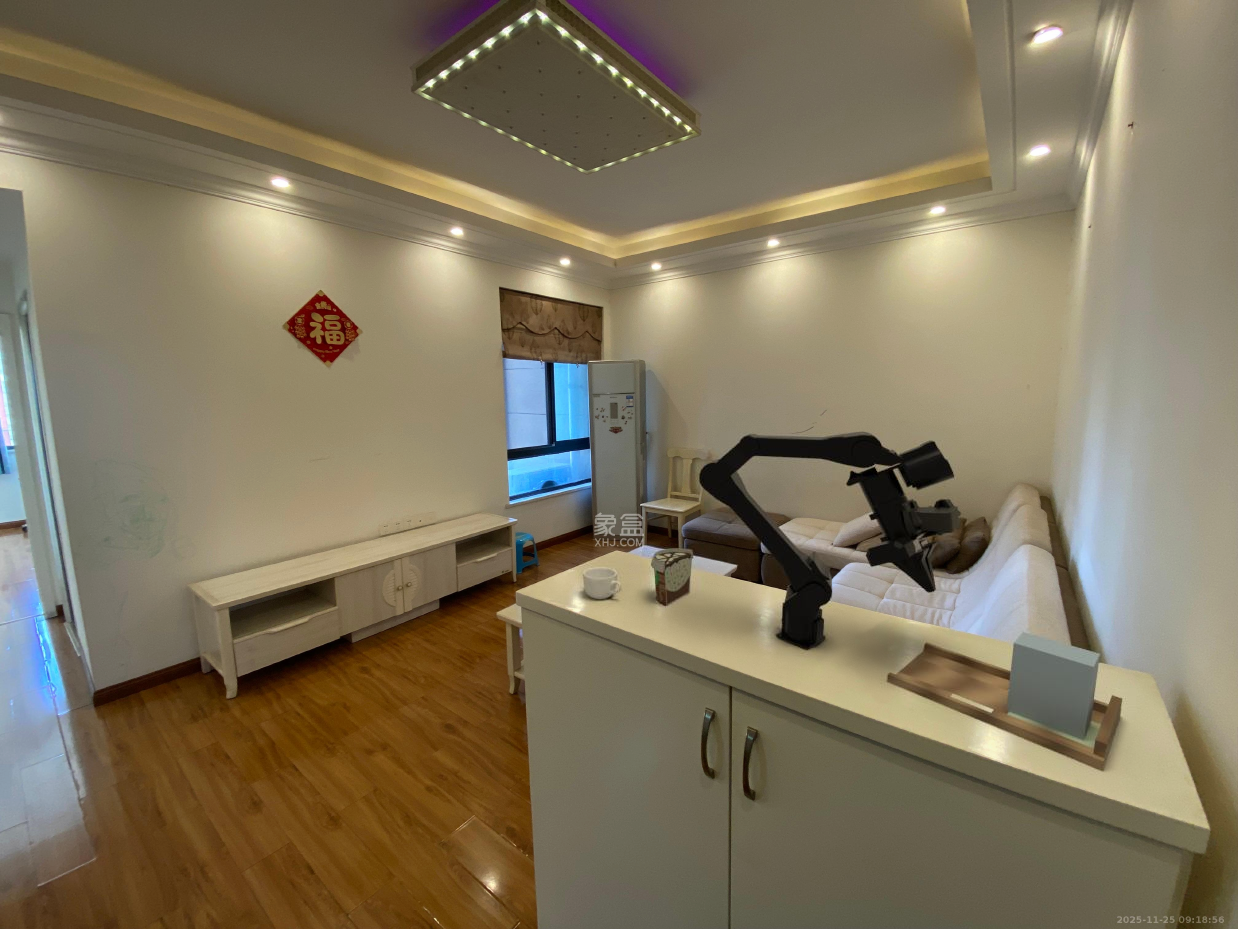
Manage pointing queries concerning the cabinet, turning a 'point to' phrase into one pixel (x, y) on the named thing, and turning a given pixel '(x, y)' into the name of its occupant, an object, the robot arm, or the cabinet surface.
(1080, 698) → the slate block
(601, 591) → the teacup
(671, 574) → the food container
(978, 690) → the tray
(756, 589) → the cabinet surface
